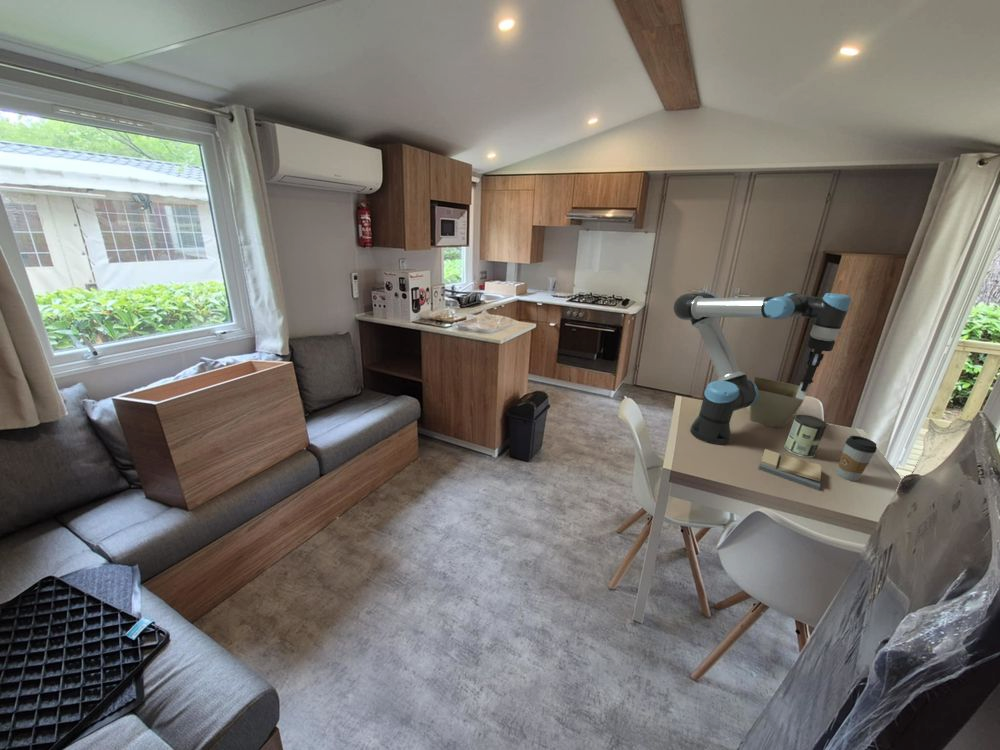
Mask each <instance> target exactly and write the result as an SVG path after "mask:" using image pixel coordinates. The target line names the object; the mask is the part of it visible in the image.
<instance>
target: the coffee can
mask: <svg viewBox="0 0 1000 750" xmlns="http://www.w3.org/2000/svg"><path fill="white" fill-rule="evenodd" d="M827 427H828V423H827V422H826V421H824V420H823V419H821V418H818V417H815V416H813V415H808V414H796V415H794V419H793V422H792V425H791V428H790V430H789V433H788V436H787V439H786V442H785V443H784V449H785V450H786V451H788V452H789V453H791V454H792V455H795V456H798V457H801V458H809V459H810V458H811V459H812V458H814V457H815V455H816V453H817V450H818V448H819V445H820V443H821V440H822V437H823V436H824V433H825V430H826V428H827Z"/></svg>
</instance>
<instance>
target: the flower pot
mask: <svg viewBox="0 0 1000 750" xmlns="http://www.w3.org/2000/svg"><path fill="white" fill-rule="evenodd" d="M752 382H754V383H755V384H756V386H757V388H758V392H759V394H758V398H757V400H756V401H755V402H754V403H753V404H752V405H750V406H749V420H750V421H751V422H755V423H758V424H763V425H767V426H771V427H774V428H778V429H783V428H784V427H785V426H786V425H787V424H788V423H789V422H790V420H791V419H793V417H795V414H796V413H797V412H798V411H799V409H800V407H801V405H802V404H803V402H804V400H803V399H799V398H796V395H797V392H798V390H799V387H800V385H796V384H792V383H788V382H787V383H786V382H783V381H777V380H773V379H769V378H764V377H760V376H753V380H752Z"/></svg>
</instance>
